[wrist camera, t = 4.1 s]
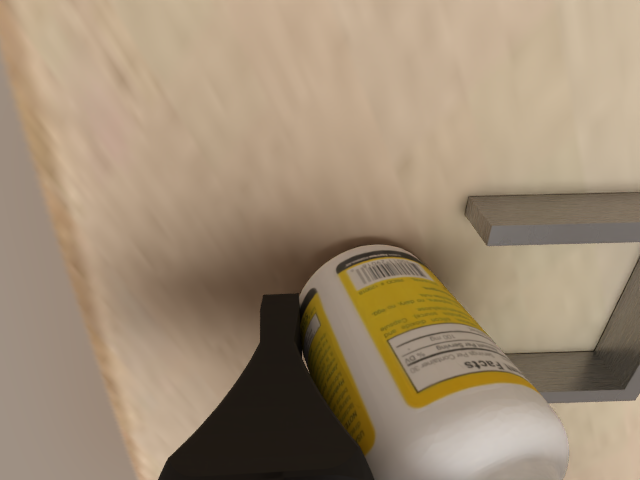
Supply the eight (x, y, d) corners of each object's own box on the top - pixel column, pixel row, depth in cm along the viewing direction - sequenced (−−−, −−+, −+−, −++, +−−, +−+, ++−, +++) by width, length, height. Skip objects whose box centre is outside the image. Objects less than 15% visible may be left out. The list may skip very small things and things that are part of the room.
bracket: (604, 362, 18) (635, 400, 16) (434, 367, 18) (447, 406, 16) (692, 191, 14) (746, 219, 12) (468, 196, 14) (491, 226, 12)
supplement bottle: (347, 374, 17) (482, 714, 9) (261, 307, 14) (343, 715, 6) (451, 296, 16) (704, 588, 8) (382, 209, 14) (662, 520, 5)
